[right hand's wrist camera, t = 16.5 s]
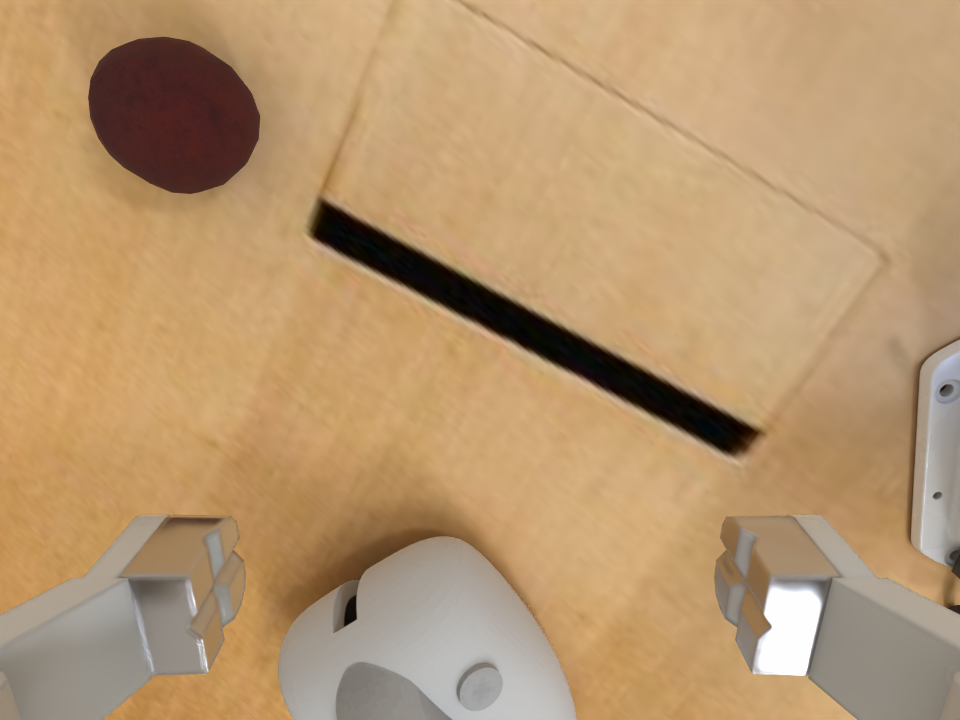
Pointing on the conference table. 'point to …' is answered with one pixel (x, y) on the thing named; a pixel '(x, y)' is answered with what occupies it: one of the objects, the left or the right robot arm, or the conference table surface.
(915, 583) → the conference table surface
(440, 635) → the white rounded slotted device
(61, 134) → the conference table surface
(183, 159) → the potato
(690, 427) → the conference table surface
